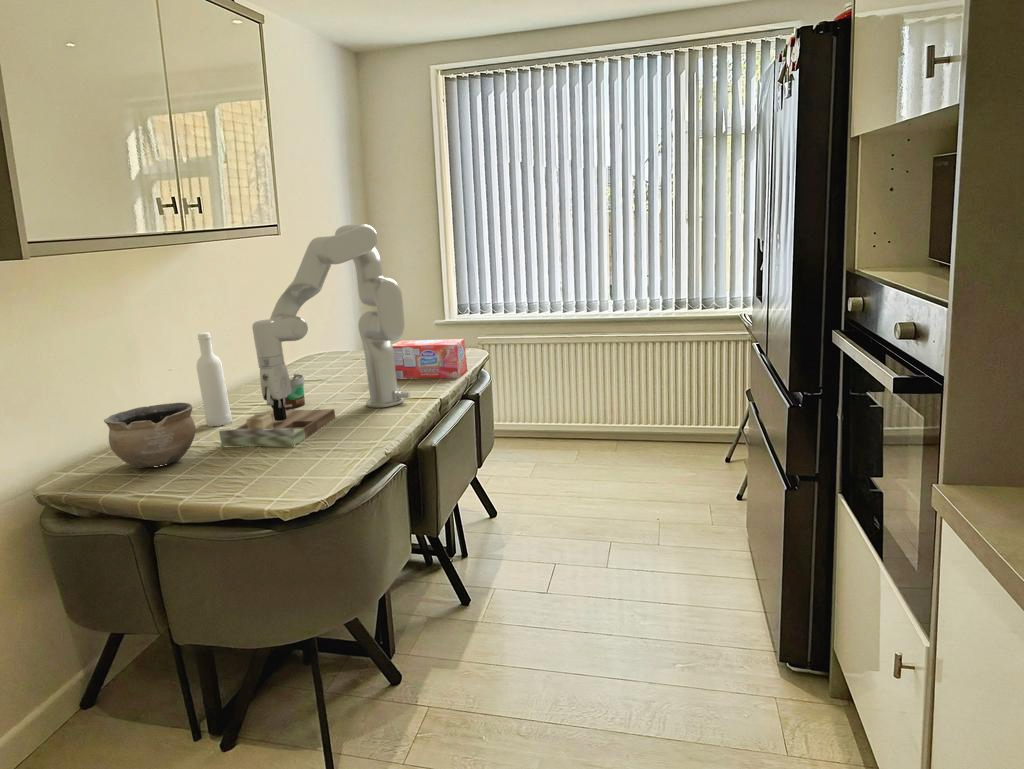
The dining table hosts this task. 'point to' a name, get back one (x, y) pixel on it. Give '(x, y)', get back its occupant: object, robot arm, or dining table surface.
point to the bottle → (212, 384)
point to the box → (430, 358)
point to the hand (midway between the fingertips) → (280, 419)
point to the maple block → (260, 421)
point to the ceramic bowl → (152, 434)
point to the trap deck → (279, 429)
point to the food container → (296, 393)
